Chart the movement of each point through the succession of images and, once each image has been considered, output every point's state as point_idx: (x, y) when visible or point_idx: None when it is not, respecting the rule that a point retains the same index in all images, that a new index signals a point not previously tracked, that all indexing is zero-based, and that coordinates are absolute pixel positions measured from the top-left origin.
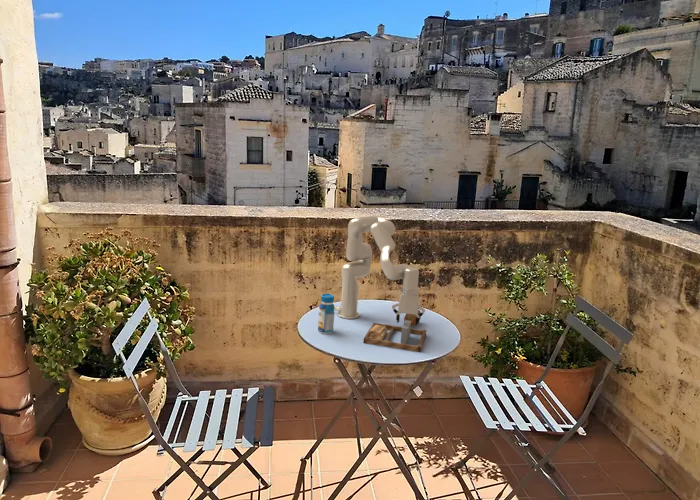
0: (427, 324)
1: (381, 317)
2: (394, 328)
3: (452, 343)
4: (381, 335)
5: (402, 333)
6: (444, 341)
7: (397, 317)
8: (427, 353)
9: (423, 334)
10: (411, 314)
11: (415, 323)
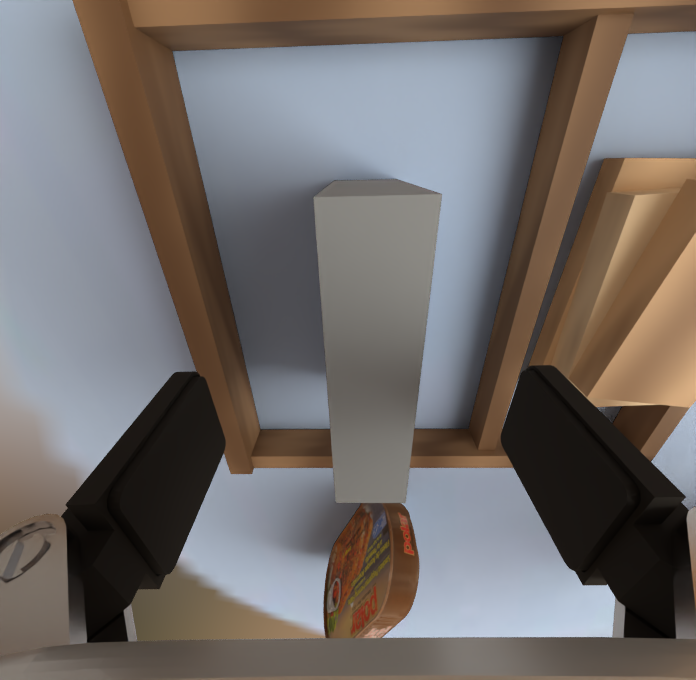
0: (285, 550)
1: (539, 552)
2: (471, 444)
3: (25, 382)
4: (654, 194)
5: (400, 186)
6: (89, 393)
7: (632, 445)
8: (36, 16)
9: (216, 392)
10: (371, 605)
11: (345, 541)
